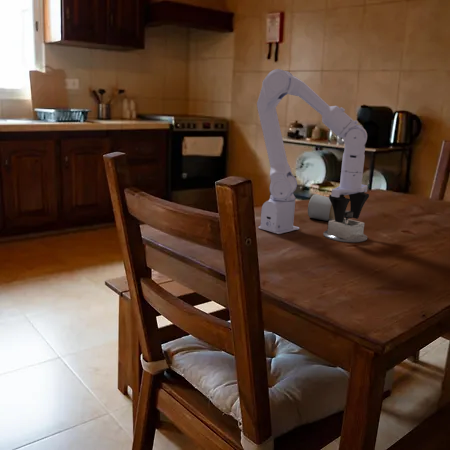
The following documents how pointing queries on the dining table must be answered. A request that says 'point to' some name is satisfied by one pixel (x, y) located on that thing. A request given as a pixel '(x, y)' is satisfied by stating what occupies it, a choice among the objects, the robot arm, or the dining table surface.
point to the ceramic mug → (320, 208)
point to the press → (345, 231)
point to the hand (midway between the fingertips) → (346, 219)
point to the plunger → (348, 216)
